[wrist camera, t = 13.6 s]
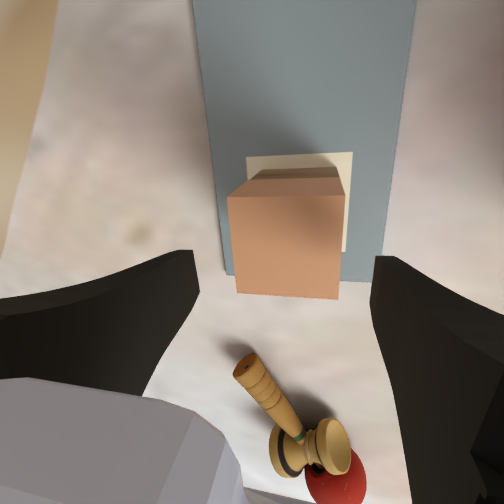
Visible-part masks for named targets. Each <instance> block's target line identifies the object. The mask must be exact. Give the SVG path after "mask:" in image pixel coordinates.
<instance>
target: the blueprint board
mask: <svg viewBox="0 0 504 504" xmlns="http://www.w3.org/2000/svg"><path fill="white" fill-rule="evenodd" d="M192 3H193V11H194V19H195V27H196V35H197V43H198V51H199V59H200V67H201V75H202V83H203V91H204V99H205V107H206V115H207V123H208V131H209V139H210V147H211V155H212V163H213V171H214V179H215V187H216V195H217V203H218V211H219V219H220V227H221V235H222V243H223V251H224V259H225V267H226V275H233V276H235V270H234V261H233V252H232V242H231V233H230V224H229V215H228V206H227V197H228V196H229V195H230V194H231V193H232V192H234V191H235V190H236V189H237V188H238V187H240V186H241V185H242V184H243V183H245V182H246V181H247V180H250V179H251V178H252V177H253V176H255V175H256V174H257V173H258V172H259V171H261V170H265V169H292V168H319V167H337V170H338V173H339V176H340V180H341V183H342V186H343V189H344V192H345V195H346V196H345V210H344V224H343V238H342V252H341V266H340V280H339V281H351V282H371V283H372V279H373V271H374V263H375V256H381V255H382V248H383V241H384V233H385V226H386V219H387V211H388V204H389V197H390V189H391V182H392V175H393V167H394V160H395V153H396V145H397V138H398V131H399V123H400V116H401V109H402V101H403V94H404V87H405V79H406V72H407V65H408V57H409V50H410V43H411V35H412V28H413V21H414V13H415V6H416V0H192Z"/></svg>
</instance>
